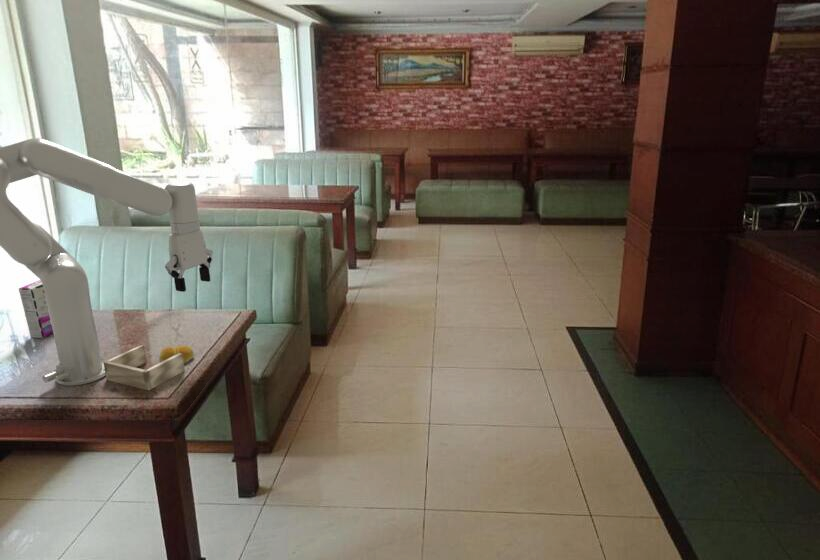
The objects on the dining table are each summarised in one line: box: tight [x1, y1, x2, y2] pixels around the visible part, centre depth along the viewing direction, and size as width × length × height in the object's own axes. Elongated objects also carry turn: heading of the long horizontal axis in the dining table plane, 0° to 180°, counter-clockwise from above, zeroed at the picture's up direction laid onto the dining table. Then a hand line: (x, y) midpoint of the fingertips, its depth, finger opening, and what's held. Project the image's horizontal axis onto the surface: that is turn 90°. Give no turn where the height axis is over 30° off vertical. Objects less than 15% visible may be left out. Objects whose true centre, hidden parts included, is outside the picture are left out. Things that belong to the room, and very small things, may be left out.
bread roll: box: [158, 345, 195, 364], centre depth 162 cm, size 8×9×4 cm
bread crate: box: [102, 344, 186, 391], centre depth 152 cm, size 12×15×5 cm
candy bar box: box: [18, 279, 54, 339], centre depth 181 cm, size 11×5×16 cm, turn 170°
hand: (193, 285), depth 165 cm, fingers open, 9 cm apart
